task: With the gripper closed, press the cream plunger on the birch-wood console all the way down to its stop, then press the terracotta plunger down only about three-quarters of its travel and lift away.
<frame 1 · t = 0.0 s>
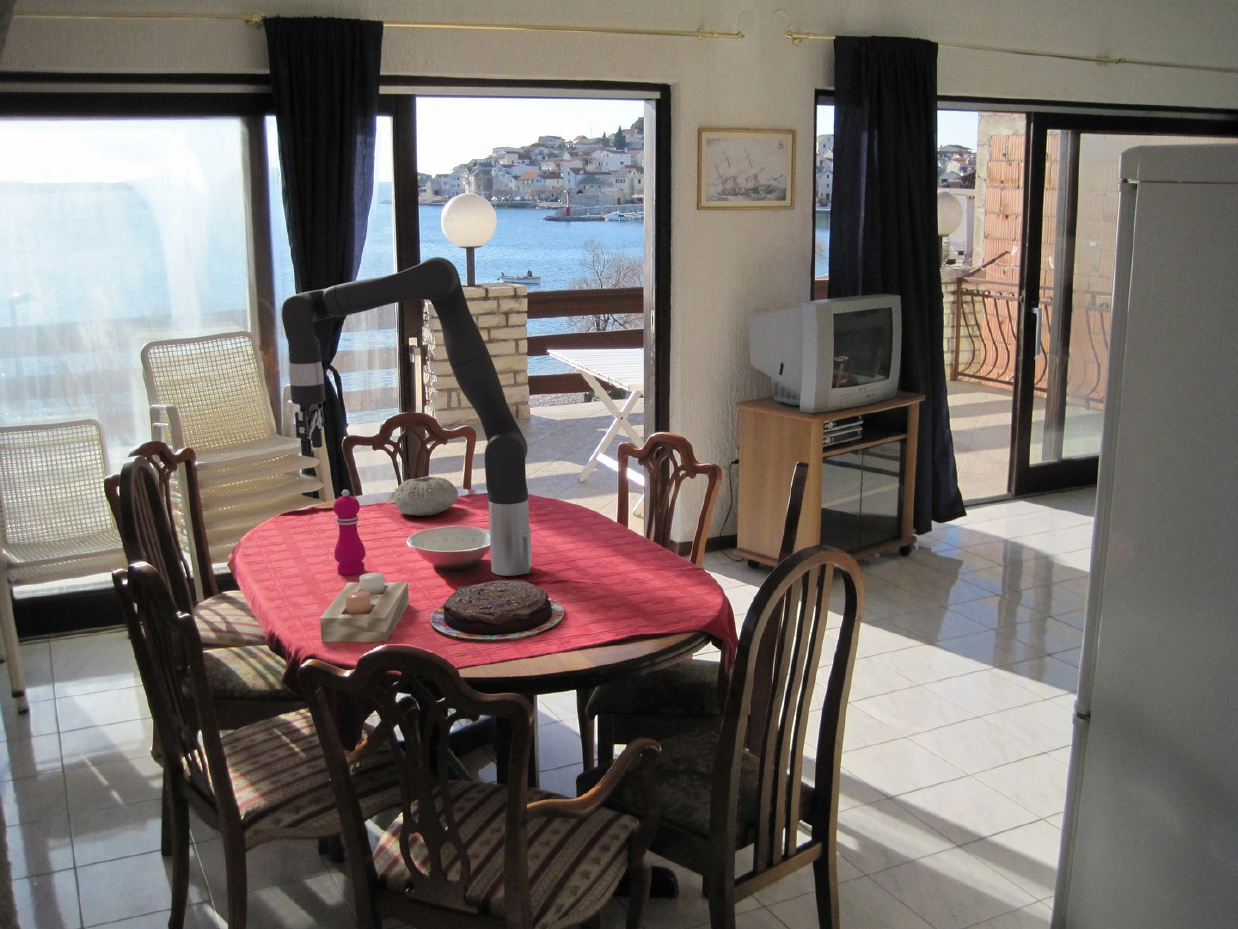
hand: (312, 451, 270), 29 cm above the table, tool pointing down, fingers open, 8 cm apart
pepper mill: (351, 572, 277), on the table
console: (367, 622, 243), on the table
cream button: (372, 584, 248), point 6 cm above the table, slide at 0.0 cm
chocolate cake: (497, 620, 245), on the table
decorative shell: (427, 513, 328), on the table
terracotta button: (358, 603, 236), point 6 cm above the table, slide at 0.0 cm
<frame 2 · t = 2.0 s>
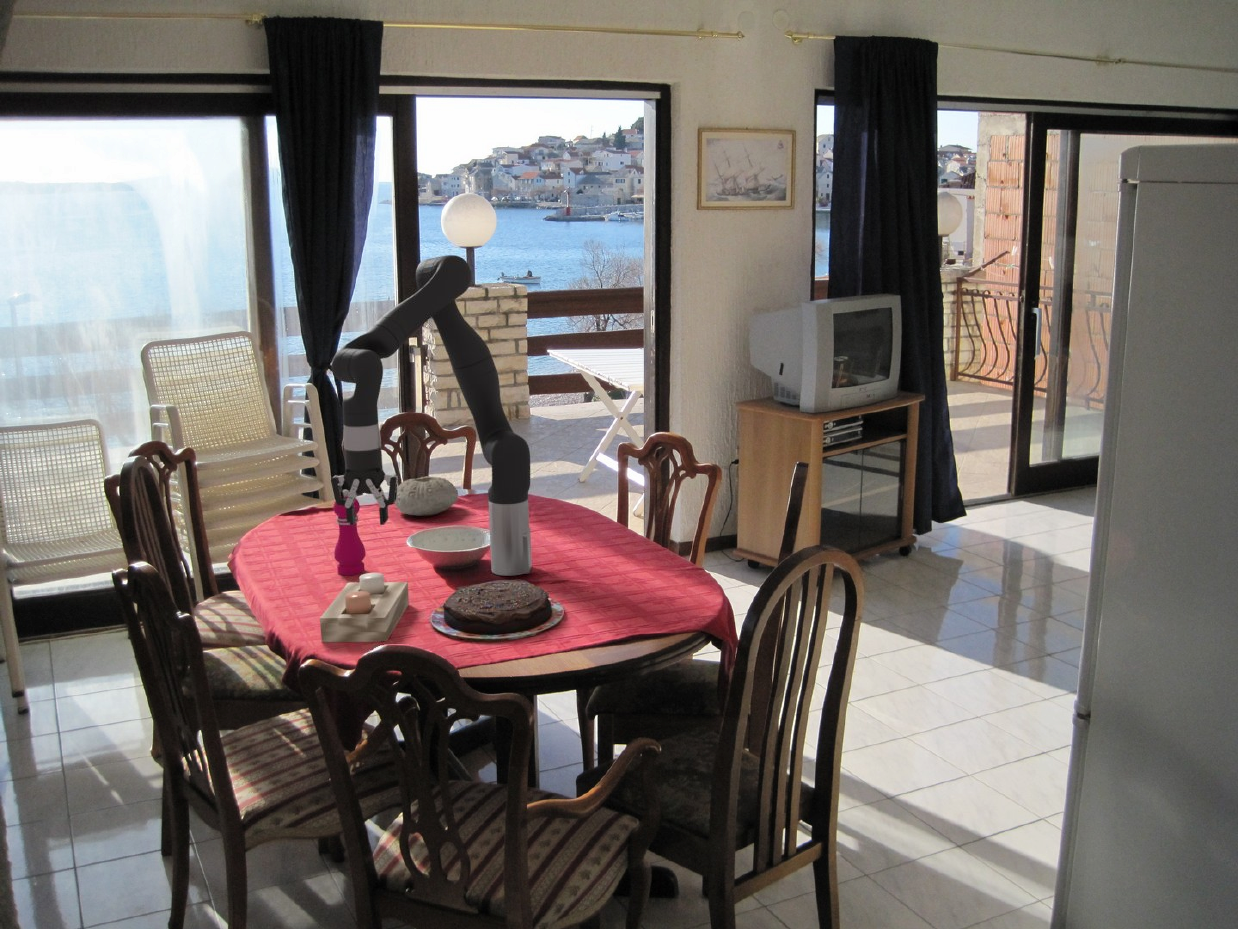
hand: (367, 523, 245), 20 cm above the table, tool pointing down, fingers open, 5 cm apart
nothing on the table moved.
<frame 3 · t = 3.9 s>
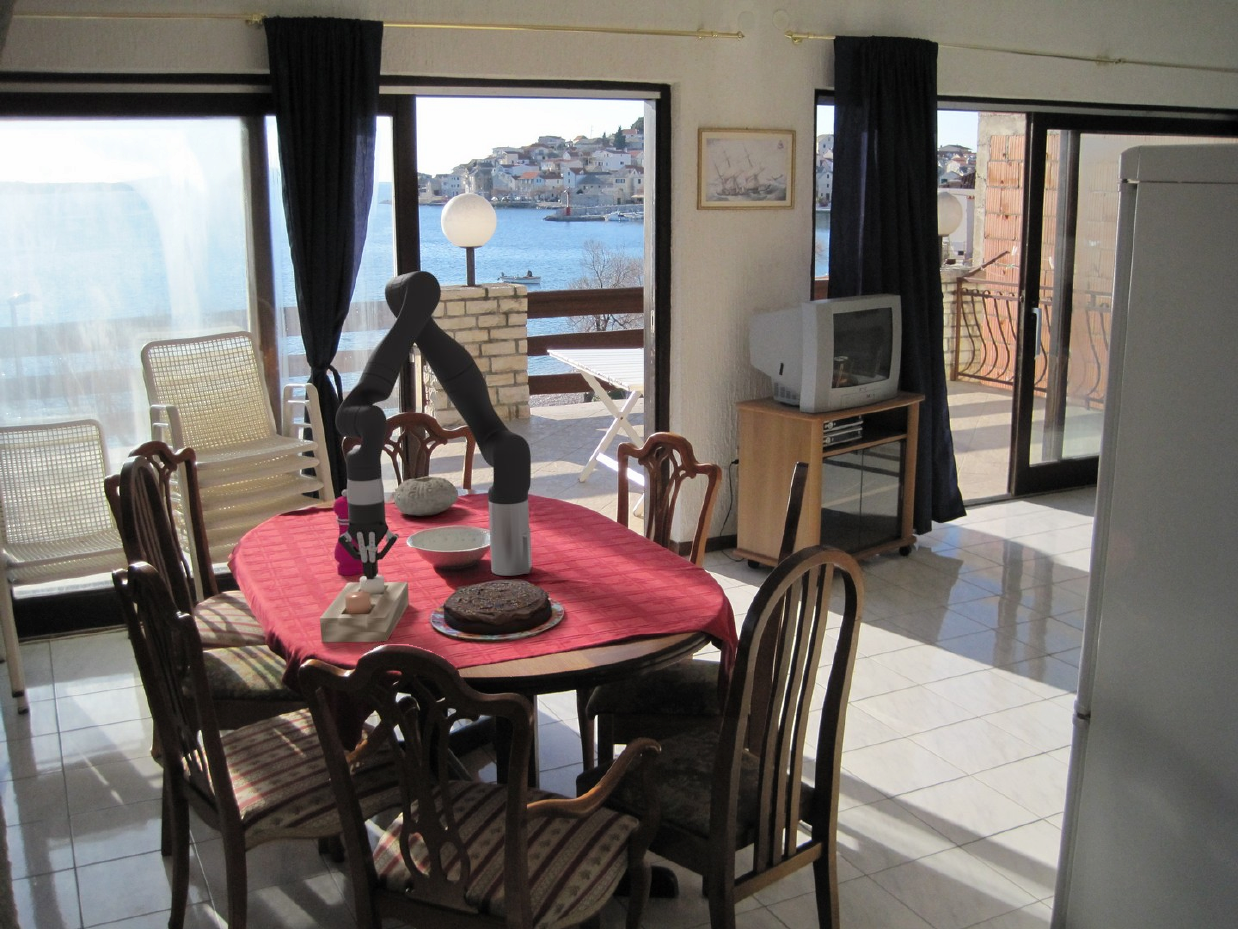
hand: (370, 577, 248), 8 cm above the table, tool pointing down, fingers closed
cream button: (372, 585, 248), point 6 cm above the table, slide at 0.4 cm, touching gripper
everything else where it was.
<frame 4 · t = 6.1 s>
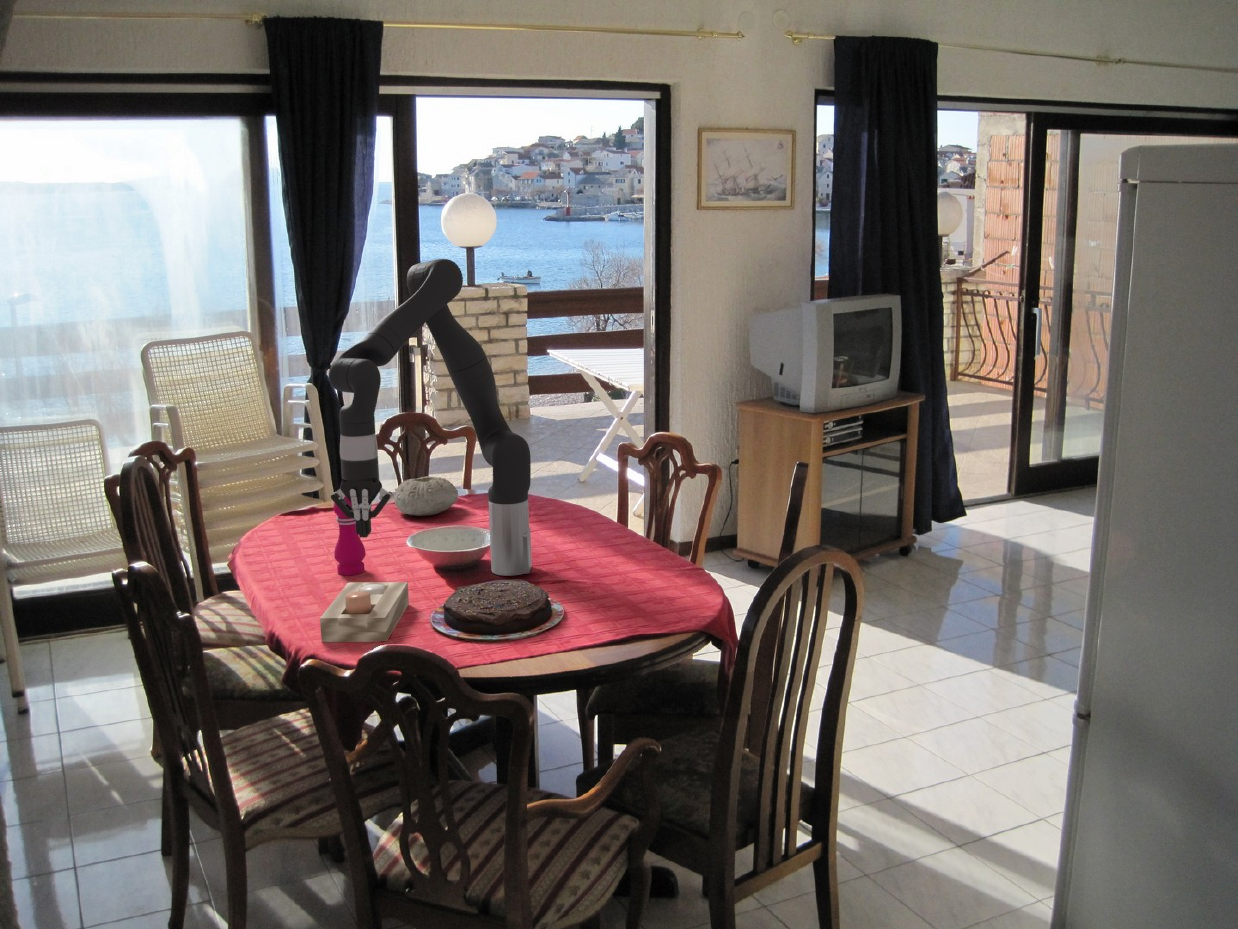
hand: (364, 536, 244), 17 cm above the table, tool pointing down, fingers closed
cream button: (372, 595, 248), point 4 cm above the table, slide at 2.6 cm
everything else where it was.
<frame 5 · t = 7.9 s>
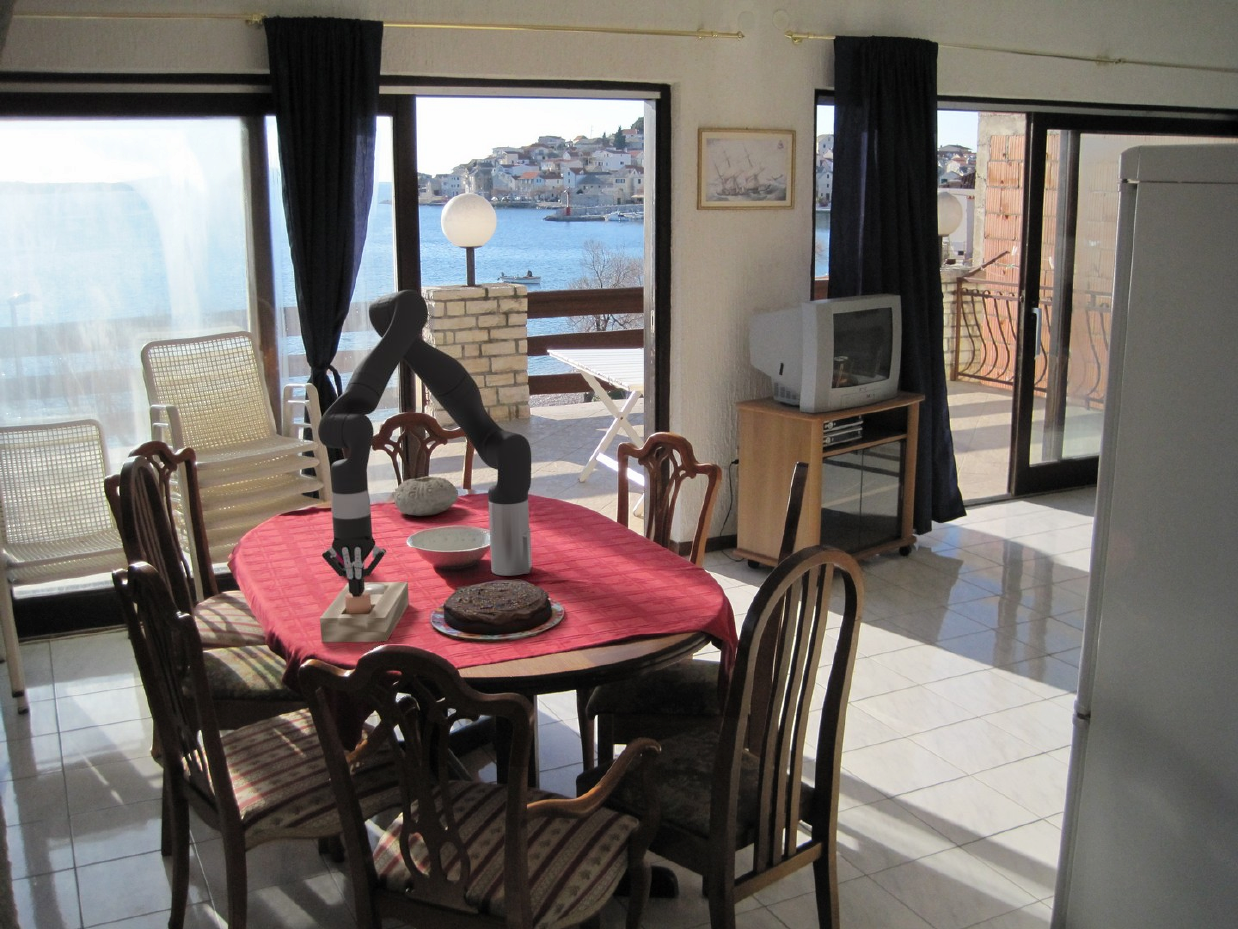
hand: (357, 595, 236), 8 cm above the table, tool pointing down, fingers closed
terracotta button: (358, 603, 236), point 6 cm above the table, slide at 0.0 cm, touching gripper
everything else where it was.
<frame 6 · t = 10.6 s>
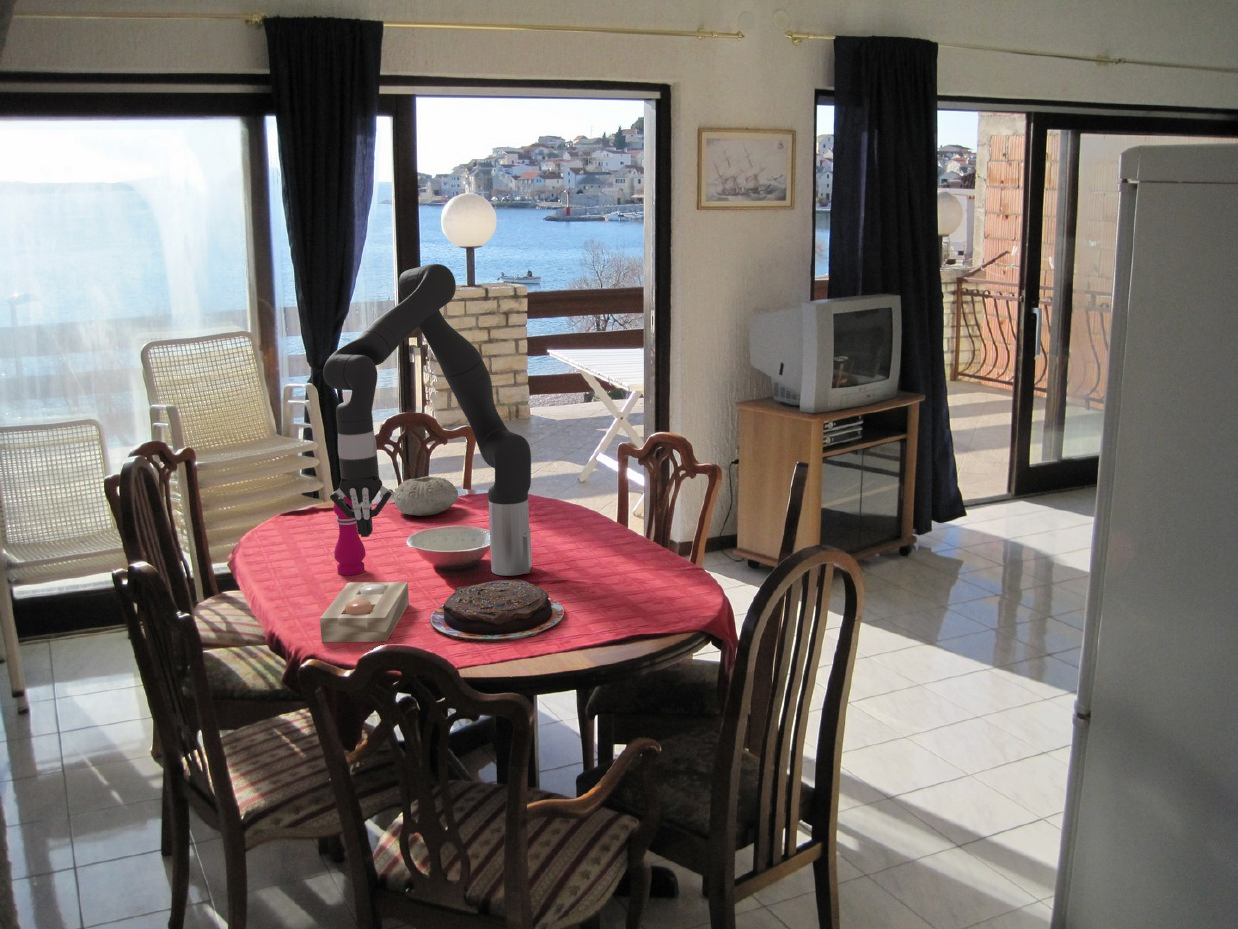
hand: (365, 535, 239), 19 cm above the table, tool pointing down, fingers closed
terracotta button: (358, 612, 237), point 4 cm above the table, slide at 1.9 cm
everything else where it was.
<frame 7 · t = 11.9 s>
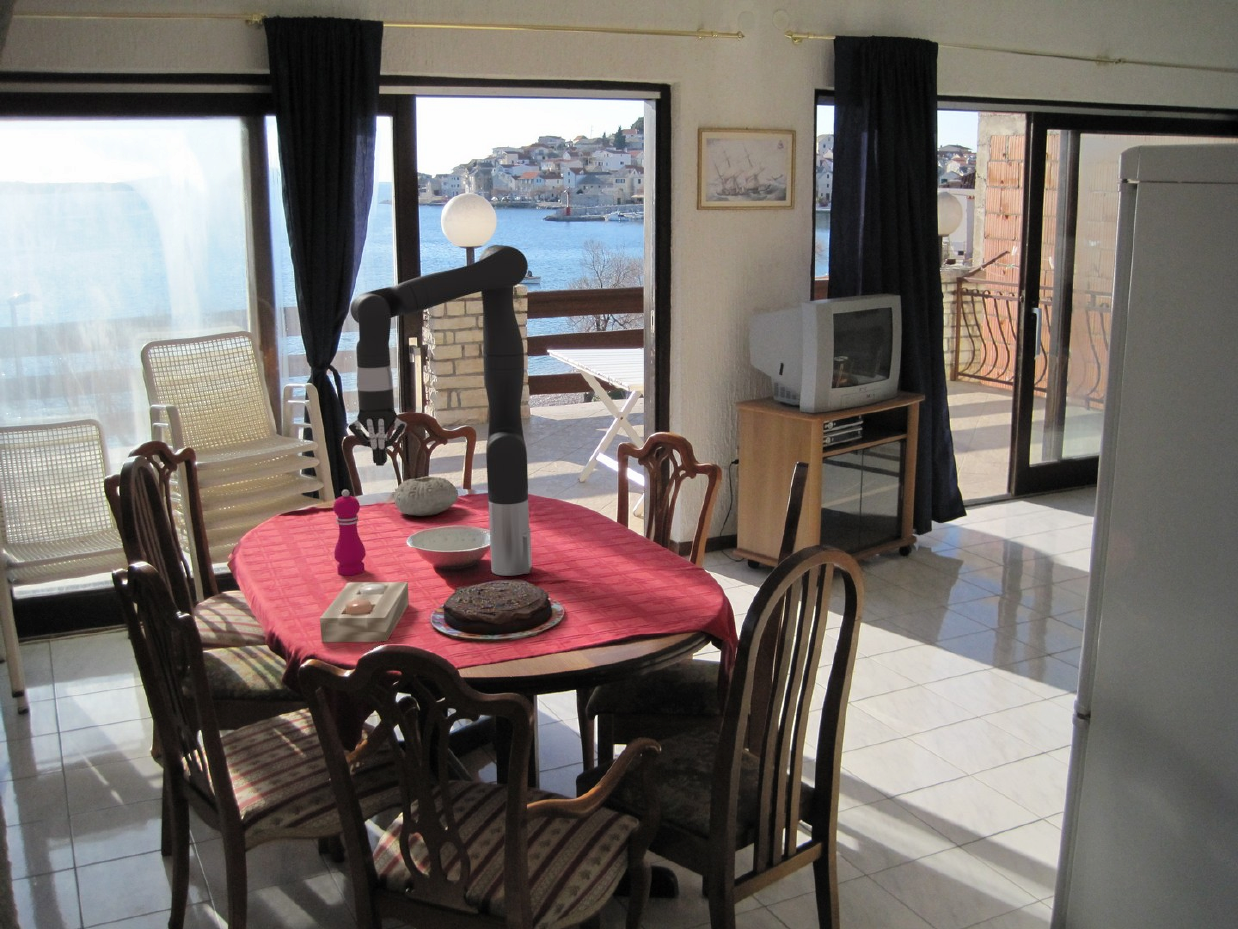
hand: (380, 465, 256), 29 cm above the table, tool pointing down, fingers closed
nothing on the table moved.
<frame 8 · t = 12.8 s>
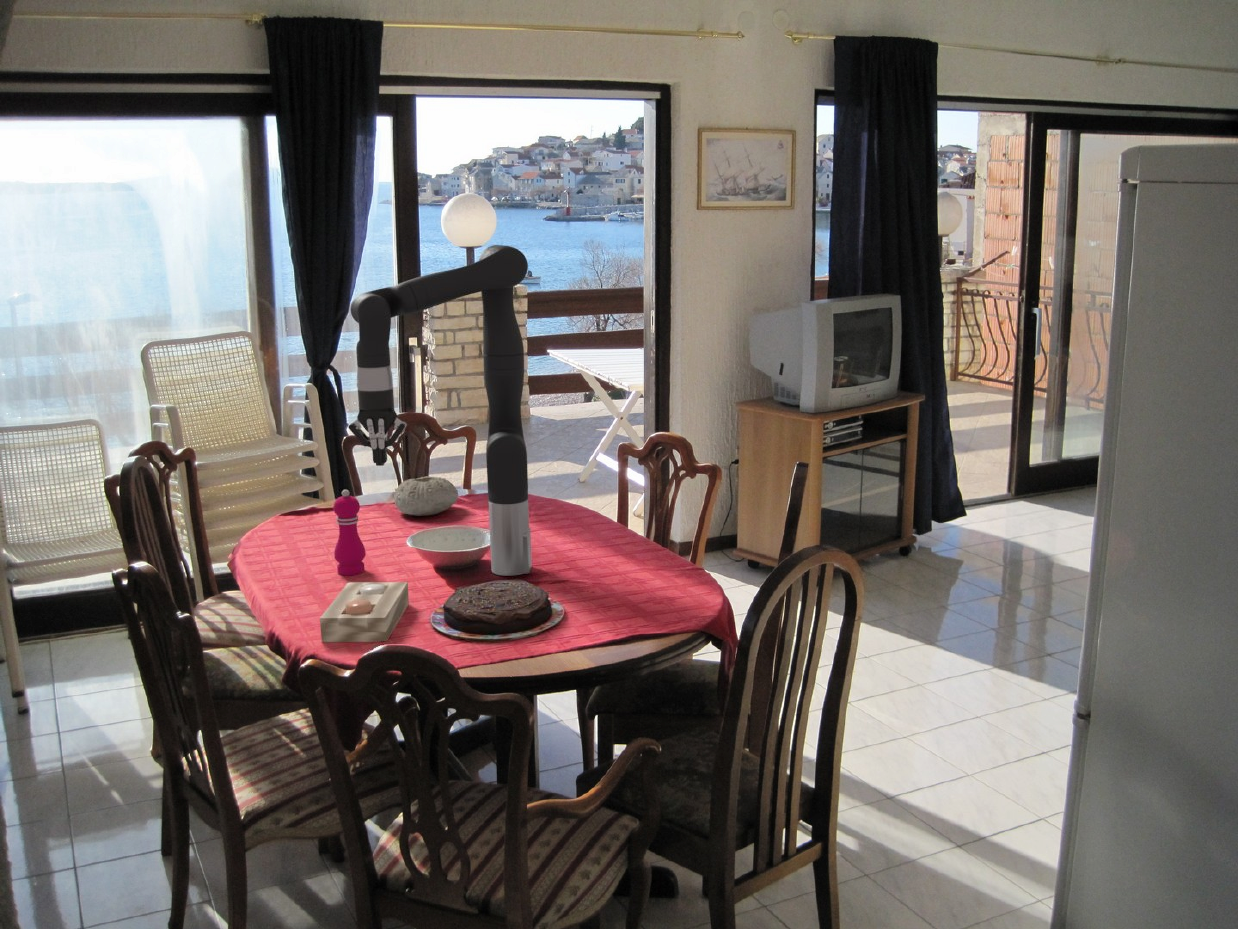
hand: (380, 464, 256), 29 cm above the table, tool pointing down, fingers closed
nothing on the table moved.
at the end: cream button slide at 2.6 cm; terracotta button slide at 1.9 cm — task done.
